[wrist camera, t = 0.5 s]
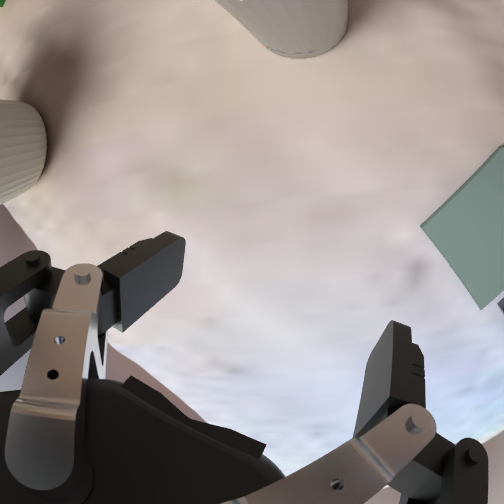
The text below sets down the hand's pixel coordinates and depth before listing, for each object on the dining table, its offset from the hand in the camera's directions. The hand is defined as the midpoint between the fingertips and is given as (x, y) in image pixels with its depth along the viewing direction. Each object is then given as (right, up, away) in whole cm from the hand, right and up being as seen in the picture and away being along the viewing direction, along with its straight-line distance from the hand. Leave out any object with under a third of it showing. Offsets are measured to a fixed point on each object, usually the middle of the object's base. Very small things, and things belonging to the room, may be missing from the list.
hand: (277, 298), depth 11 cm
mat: (+23, +4, +14) cm, 27 cm away
